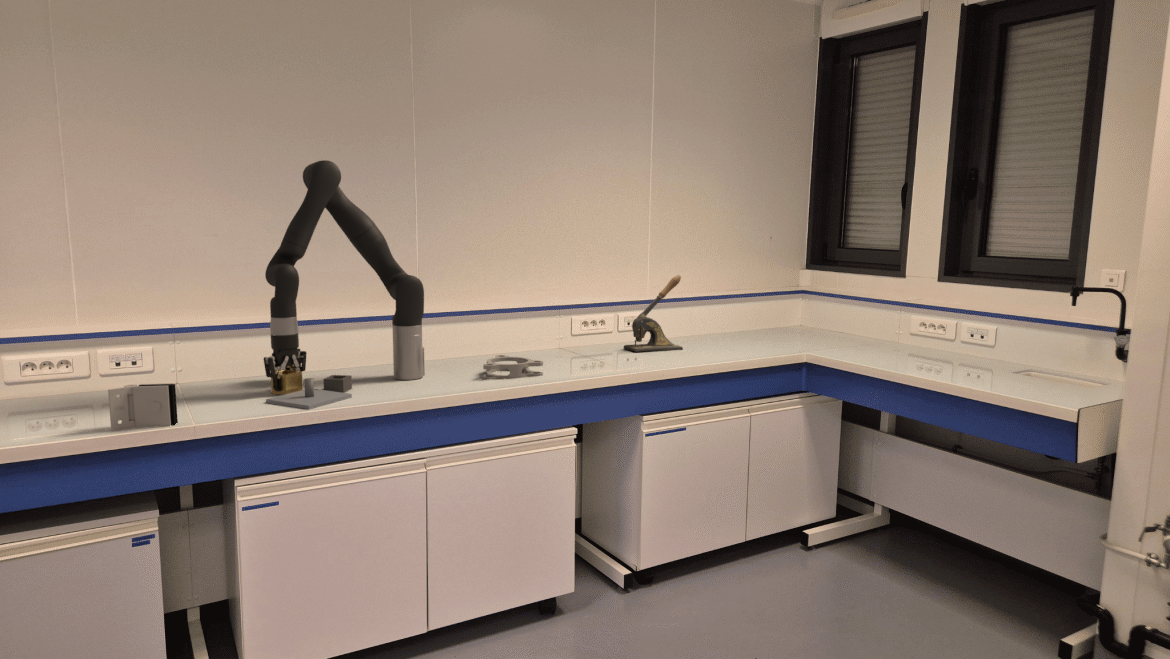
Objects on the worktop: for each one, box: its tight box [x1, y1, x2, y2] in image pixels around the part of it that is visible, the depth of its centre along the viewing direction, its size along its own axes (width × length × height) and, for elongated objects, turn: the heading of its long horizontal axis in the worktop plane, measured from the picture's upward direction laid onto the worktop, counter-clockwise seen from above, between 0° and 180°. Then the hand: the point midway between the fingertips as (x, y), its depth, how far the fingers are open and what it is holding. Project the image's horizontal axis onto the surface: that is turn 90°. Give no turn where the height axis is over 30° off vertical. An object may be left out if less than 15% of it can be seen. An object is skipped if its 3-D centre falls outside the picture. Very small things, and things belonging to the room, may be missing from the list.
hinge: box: [107, 382, 179, 432], centre depth 183 cm, size 14×5×10 cm, turn 113°
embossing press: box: [622, 274, 684, 353], centre depth 302 cm, size 11×24×30 cm, turn 113°
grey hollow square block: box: [323, 374, 353, 393], centre depth 224 cm, size 6×6×4 cm
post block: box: [265, 377, 353, 410], centre depth 211 cm, size 16×16×6 cm
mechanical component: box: [482, 354, 544, 380], centre depth 253 cm, size 20×19×5 cm
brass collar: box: [270, 370, 304, 396], centre depth 220 cm, size 6×6×6 cm
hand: (287, 388), depth 221 cm, fingers closed on brass collar, 6 cm apart
